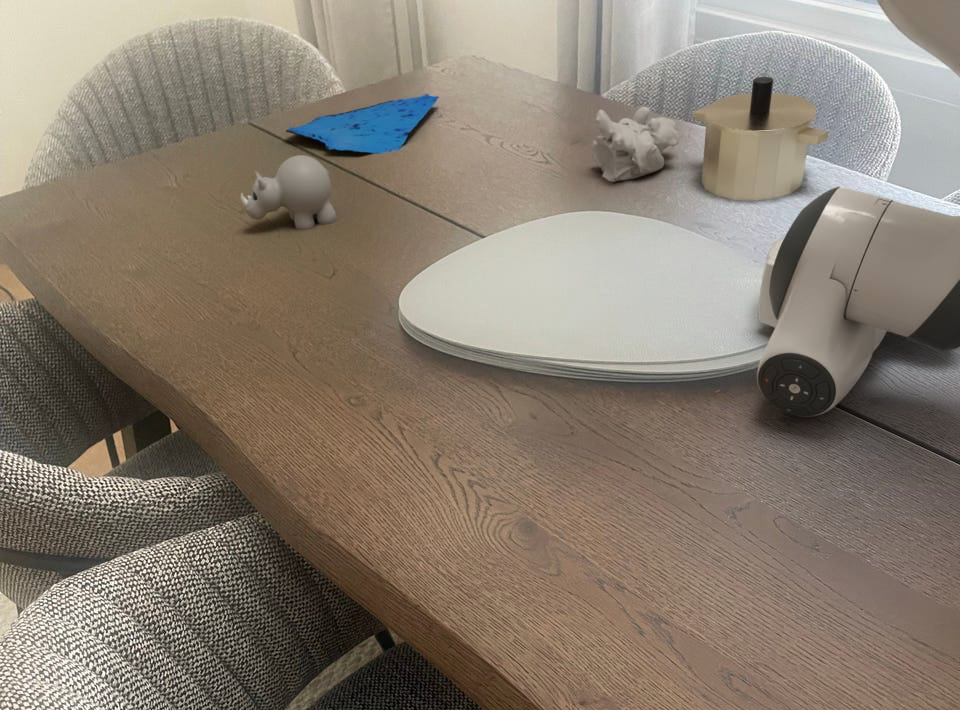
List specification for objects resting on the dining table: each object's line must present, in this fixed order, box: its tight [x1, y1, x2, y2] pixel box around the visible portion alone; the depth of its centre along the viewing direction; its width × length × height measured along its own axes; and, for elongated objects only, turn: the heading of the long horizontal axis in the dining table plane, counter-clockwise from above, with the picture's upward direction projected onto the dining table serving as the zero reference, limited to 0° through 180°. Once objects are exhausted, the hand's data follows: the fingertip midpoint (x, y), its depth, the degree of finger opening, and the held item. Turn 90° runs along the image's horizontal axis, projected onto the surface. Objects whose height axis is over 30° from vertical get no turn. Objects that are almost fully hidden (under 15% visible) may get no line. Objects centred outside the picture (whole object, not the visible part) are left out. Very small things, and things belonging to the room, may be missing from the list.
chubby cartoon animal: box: [240, 154, 338, 230], centre depth 127 cm, size 7×12×8 cm, turn 108°
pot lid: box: [704, 76, 817, 135], centre depth 120 cm, size 14×14×5 cm
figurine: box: [591, 106, 681, 183], centre depth 129 cm, size 8×10×12 cm
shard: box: [284, 93, 440, 155], centre depth 153 cm, size 25×24×2 cm
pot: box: [692, 106, 829, 202], centre depth 124 cm, size 13×18×8 cm
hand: (886, 247), depth 101 cm, fingers closed on lemon, 5 cm apart
